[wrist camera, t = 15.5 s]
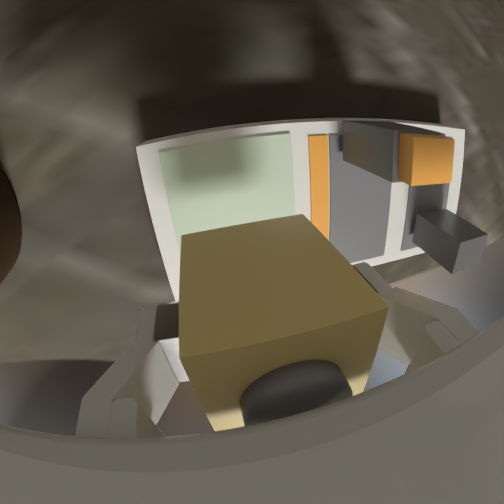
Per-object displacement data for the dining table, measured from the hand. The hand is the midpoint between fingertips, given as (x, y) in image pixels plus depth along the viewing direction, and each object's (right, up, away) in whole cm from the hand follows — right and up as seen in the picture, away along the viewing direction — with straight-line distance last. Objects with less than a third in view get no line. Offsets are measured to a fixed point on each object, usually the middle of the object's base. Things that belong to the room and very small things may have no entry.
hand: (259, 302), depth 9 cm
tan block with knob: (0, +1, +1) cm, 2 cm away
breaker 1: (+5, +7, +4) cm, 10 cm away
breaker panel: (+4, +5, +8) cm, 11 cm away
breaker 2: (+11, +4, +8) cm, 14 cm away
